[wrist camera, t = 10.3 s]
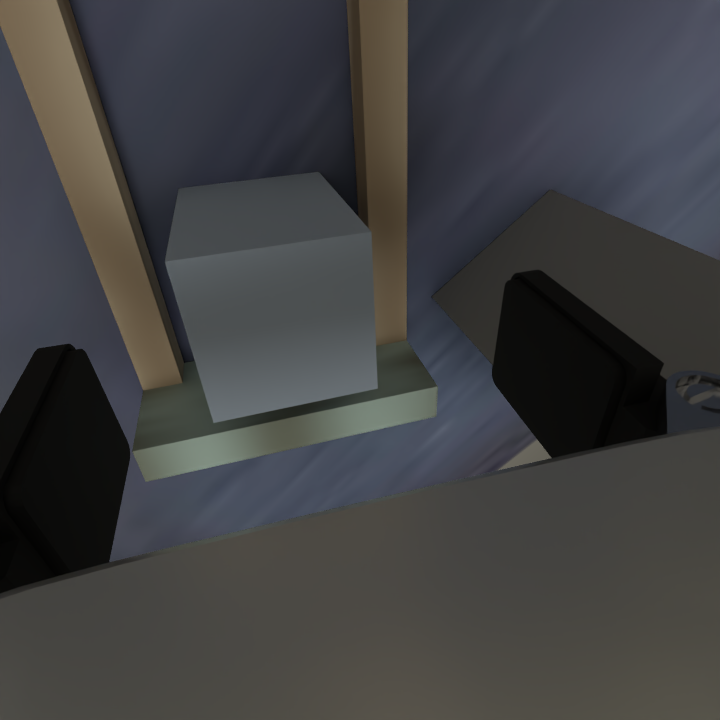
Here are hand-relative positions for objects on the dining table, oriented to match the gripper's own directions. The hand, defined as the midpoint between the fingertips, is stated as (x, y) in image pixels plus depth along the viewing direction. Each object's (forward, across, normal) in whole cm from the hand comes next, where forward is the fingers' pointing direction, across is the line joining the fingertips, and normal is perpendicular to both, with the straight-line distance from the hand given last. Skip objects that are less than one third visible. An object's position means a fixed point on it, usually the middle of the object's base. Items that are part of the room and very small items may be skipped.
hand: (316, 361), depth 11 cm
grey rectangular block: (+9, +1, +1) cm, 9 cm away
